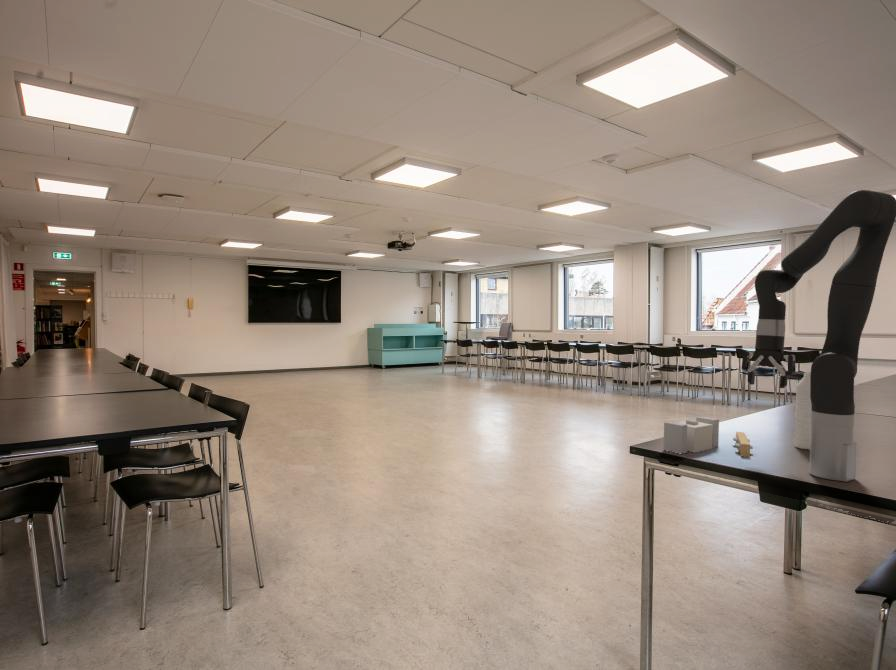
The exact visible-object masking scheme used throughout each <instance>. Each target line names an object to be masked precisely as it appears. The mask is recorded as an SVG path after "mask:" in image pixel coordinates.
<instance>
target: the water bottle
mask: <svg viewBox="0 0 896 670" xmlns="http://www.w3.org/2000/svg"><path fill="white" fill-rule="evenodd" d="M810 376H811V372H804V373H803V377H802V378H801V379H800V380H799V382H798V383H797V384H796V385H795V393H796V394H795V397H796V398H795V411H794V413H795V417H794V421H795V422H794V432H795V433H794V443H793V446H794V447H795V448H798V449H802V450H803V449H804V450H807V449H808V450H809V451H810V437H811V399H810Z"/></svg>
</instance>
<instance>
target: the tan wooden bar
mask: <svg viewBox="0 0 896 670" xmlns="http://www.w3.org/2000/svg"><path fill="white" fill-rule="evenodd" d="M732 440H733V441H734V442H735V445H734V446H735V448H737V449H738V452H739V455H740V457H747V456H749V458H750V457H751V450H753V448H754V446H753V445H752V444H751V443H750V442H751V440H750V438H747V435H746V434H745V432H744V431H736V432H735V437H733V438H732Z"/></svg>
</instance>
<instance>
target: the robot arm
mask: <svg viewBox="0 0 896 670" xmlns="http://www.w3.org/2000/svg"><path fill="white" fill-rule="evenodd" d="M895 220H896V198H895V196H893V195H892V194H890V193H885V192H880V191H875V190H870V189H869V190H867V189H858V190H855V191H851V193H849V194H847V195H846V196H845V197H844V198H843V199H842V200H841V201H840V202H839V203H838V204H837V205H836V207H834V209H833V210H832V211H831V212H830V213H829V215H827V217H825V219H824V220H823V221H822V222H821V223H820V224H819V226H818V227H817V228H816V229H815V230H814V231H813V232H812V233H811V234H809V237H807V238H806V239H805V240H804V241H803V242H802V243H801V244H799V245H798V246H797V247H796V248H794V249H793V250H792V251H790V253H788V254H787V255H786V256H785V257H784V258H783V259H782V260H781V263H780V265H781V266H780V267H781V268H782V269H771V268H770V269H769V268H767V269H762V270H760V271H759V272H758V273H757V275H756V277H755V279H754V289H755V295H756V298H757V303H758V307H759V308H758V319H757V325H756V330H755V347H754V348H755V349H754V352H752V351H748V350H746V351H743V356H742V362H741V370H743V371H745V372H747V383H749V385H750V386H751V385H754V384H755V379H756V372H755V371H756V370H757V369H758V368H760V367H769V368H775V369H776V370H777V371H778V373H779V374H780V376H779V389H785V388H786V387H787V386H788V378H789V376H792V375H795V374H796V355H795V354H786V355H785V354H784V350H785V349H784V348H785V337H786V336H785V335H786V310H787V307H786V305H787V304H786V302H784V301H783V300H779V299H778V297H777V294H783V293H787V292H789V291H791V290H792V289H793V288H795V286H796V285H797V284H798V282H799V281H801V278H803V276H804V275H805V274H806V273H807V272H808V271H810V270H811V269H813V268H814V267H815V266H817V265H818V264H819V263H820V262H822V260H823V259H824V258H825V257H826V255H827V254H828V253H829V249H830V247H831V245H832V243H833V242H834V240H835V239H836V238H837V237H838V236H839V235H841V234H842V233H844V232H845V231H847V230H848V229H850V228H852V227H855V228H859V233H858V238H857V241H856V244H855V247H854V250H853V251H852V252H851V253H850V255H849V256H848V257H847V258H846V260H845V261H844V262H843V263H842V265H840V267H838V269H837V271H836V272H835V274H834V276H833V277H832V281H831V284H830V290H829V294H828V298H827V299H828V300H827V301H828V302H827V311H826V312H827V315H826V316H827V328H826V329H827V331H826V335H825V336H826V337H825V339H824V342H823V347H822V349H821V352H820V355H818V356H816V358H815V359H814V360H813V361H812V363H811V367H810V373H811V376H810V399H811V437H810V450H809V470H808V471H809V474H810V475H812V476H814V477H817V478H821V479H826V480H830V481H831V480H832V481H840V482H845V483H846V482H847V483H848V482H850V481H853V480H855V479H856V474H857V473H856V471H857V470H856V469H857V445H858V444H857V442H855V441H854V439H855V437H854V436H855V410H856V409H855V407H856V406H855V397H854V396H855V395H854V393H855V392H854V391H855V378H856V376H857V374H858V373H857V372H858V361H859V360H858V359H859V351H860V350H859V348H860V343H861V342H860V341H861V336H862V333H863V331H864V328H865V326H866V324H867V323H866V322H867V320H868V317H869V313H870V311H871V307H872V304H873V300H874V297H875V291H876V287H877V281H878V276H879V272H880V269H881V264H882V261H883V256H884V253H885V249H886V246H887V244H888V240H889V238H890V236H891V232H892V229H893V227H894V225H895V224H894V223H895ZM752 357H754V359H755V361H754V362H753V363H752V364H751V365H750V361H751V359H752ZM784 359H785V361H786V362H787V369H786V368H785V366H784V364H783V363H782V361H783V360H784Z"/></svg>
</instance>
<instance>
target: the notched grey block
mask: <svg viewBox="0 0 896 670" xmlns="http://www.w3.org/2000/svg"><path fill="white" fill-rule="evenodd" d="M695 418H696V420H694V419H692V420H691V419H686V420H683V421H677V422H674V421H664V423H663V450H668V451H672V452H677V453H681V454H682V453H688V452H687V451H690V452H689V453H691V452H694V453H693V454H696V453H695V452H697V453H701V452H700V451H702V452H705V450H706V451H710V449H711V450H713V447H714V448H717V446H718V447H719V437H720V436H719V435H720V434H719V432H720V431H719V430H720V428H719V427H720V419H718V418H712V417H707V416H697V417H695ZM668 451H667V452H668ZM672 452H671V453H672ZM682 455H683V454H682Z"/></svg>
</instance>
